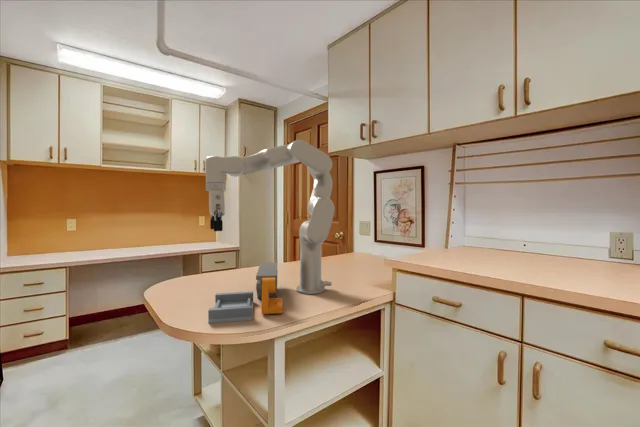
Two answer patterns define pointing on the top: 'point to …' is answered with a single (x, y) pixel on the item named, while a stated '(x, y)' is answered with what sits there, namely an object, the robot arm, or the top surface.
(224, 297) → the grey tray
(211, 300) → the top surface
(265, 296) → the bracket
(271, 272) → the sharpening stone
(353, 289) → the top surface
